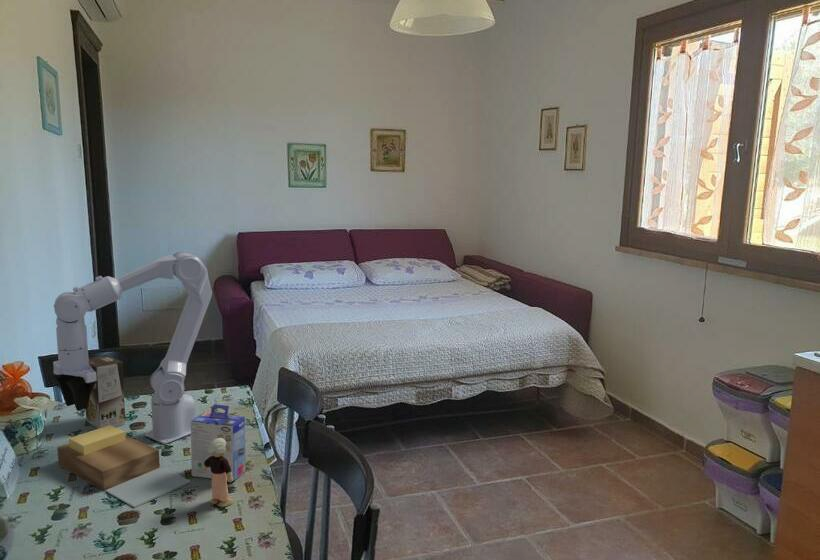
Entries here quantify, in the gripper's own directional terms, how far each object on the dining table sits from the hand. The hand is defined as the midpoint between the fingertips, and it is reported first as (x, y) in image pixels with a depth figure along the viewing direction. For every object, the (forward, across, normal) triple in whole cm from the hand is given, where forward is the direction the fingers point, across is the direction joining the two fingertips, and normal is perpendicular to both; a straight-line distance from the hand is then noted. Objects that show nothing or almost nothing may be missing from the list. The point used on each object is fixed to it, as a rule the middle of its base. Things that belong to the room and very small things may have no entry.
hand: (76, 406), depth 132 cm
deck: (+10, +12, 0) cm, 16 cm away
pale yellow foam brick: (+6, +8, 0) cm, 10 cm away
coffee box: (+11, -11, +12) cm, 19 cm away
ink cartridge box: (+11, +33, +12) cm, 37 cm away
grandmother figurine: (+11, +42, +5) cm, 44 cm away
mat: (+10, +26, 0) cm, 28 cm away
